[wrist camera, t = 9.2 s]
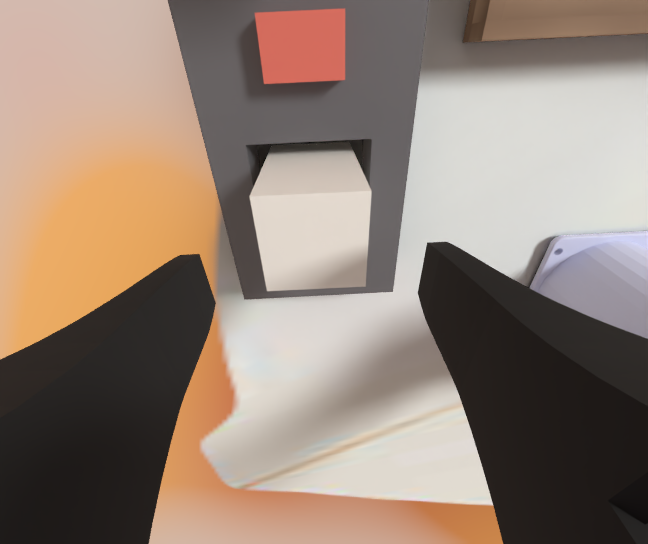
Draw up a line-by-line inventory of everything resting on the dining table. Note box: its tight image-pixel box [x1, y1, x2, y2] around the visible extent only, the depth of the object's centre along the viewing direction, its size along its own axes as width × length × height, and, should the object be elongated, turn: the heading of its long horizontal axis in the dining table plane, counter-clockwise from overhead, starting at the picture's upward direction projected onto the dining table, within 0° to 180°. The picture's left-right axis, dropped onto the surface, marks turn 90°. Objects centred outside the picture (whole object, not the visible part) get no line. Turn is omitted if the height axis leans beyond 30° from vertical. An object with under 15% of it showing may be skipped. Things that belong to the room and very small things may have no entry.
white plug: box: [249, 142, 372, 291], centre depth 14 cm, size 4×4×7 cm
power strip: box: [168, 0, 429, 299], centre depth 12 cm, size 24×9×3 cm, turn 2°
